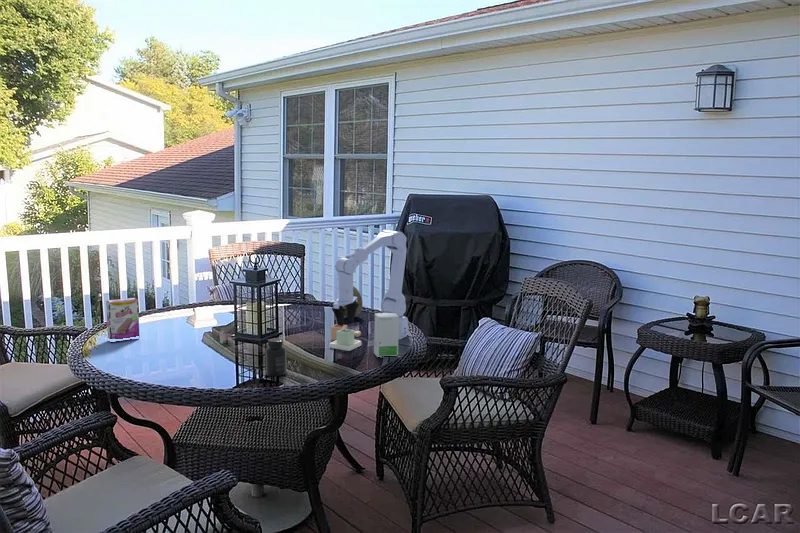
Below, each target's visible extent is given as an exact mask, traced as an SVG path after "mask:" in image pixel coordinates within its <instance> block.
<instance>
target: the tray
mask: <svg viewBox="0 0 800 533" xmlns="http://www.w3.org/2000/svg"><path fill="white" fill-rule="evenodd" d="M360 346H362V340H357V339H354V344H352V345H350V346H347V345H341V344H337V340H333V341H331V342H329V348H330V349H335V350H341V351H346V352H347V351H348V352H351V351H352V350H354V349H356V348H358V347H360Z"/></svg>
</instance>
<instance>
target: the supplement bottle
mask: <svg viewBox="0 0 800 533" xmlns="http://www.w3.org/2000/svg"><path fill="white" fill-rule="evenodd" d="M283 340H284V339H282V338H277V337H276V338H275V337H274V338H270V339H268V340H267V346H268V347H267V348H266V349H265V372H266V375H267V376H268V377H270V376H280V377H282V376H281V375H283V376H285V375H287V350H286V348H285V347H284V346H283V345H284V341H283ZM284 374H285V375H284Z"/></svg>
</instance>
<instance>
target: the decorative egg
mask: <svg viewBox="0 0 800 533" xmlns="http://www.w3.org/2000/svg"><path fill="white" fill-rule="evenodd" d="M353 297H357V302H356V303H359V306H358V308H357V310H356V313H355V317H357V316H358V315H359V314H360V313H361V312H362V309H363V305H364V304H363V299H362V295H361V293H360V291H359V290H358V289H357V287H356V286H354V285H353ZM342 308H344V309H346V306H342ZM344 317H346V318H348V317H347V310H346V312H345V316H344ZM355 317H354V318H355Z"/></svg>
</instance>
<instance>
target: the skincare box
mask: <svg viewBox="0 0 800 533" xmlns="http://www.w3.org/2000/svg"><path fill="white" fill-rule="evenodd" d="M373 333H374V338H373V354H374V355H375V356H376V358H378V357H380V358H383V357H382V356H393V355H398V356H399V340H400V339H399V316H398V315H397V314H395V313H384V312H377V313H374V332H373Z"/></svg>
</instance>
